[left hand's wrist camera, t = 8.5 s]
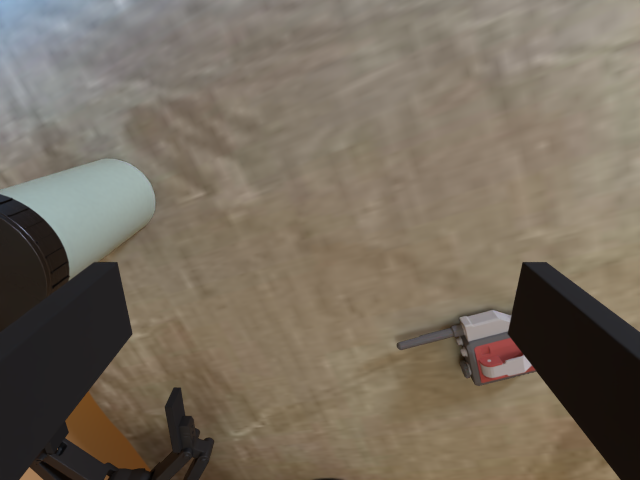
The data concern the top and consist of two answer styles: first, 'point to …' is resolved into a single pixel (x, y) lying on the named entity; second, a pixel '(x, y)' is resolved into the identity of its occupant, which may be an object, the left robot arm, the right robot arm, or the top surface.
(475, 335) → the walkie-talkie
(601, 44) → the top surface
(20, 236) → the lid
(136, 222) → the jar
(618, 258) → the top surface
